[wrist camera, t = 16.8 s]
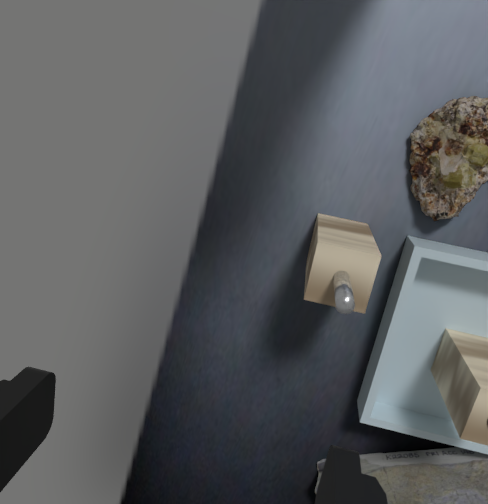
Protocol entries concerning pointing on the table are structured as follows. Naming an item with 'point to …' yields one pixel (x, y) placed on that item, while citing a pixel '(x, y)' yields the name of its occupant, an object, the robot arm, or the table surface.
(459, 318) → the tray
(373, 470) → the fossil
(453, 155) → the mineral rock
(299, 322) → the table surface
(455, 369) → the block
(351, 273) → the block
